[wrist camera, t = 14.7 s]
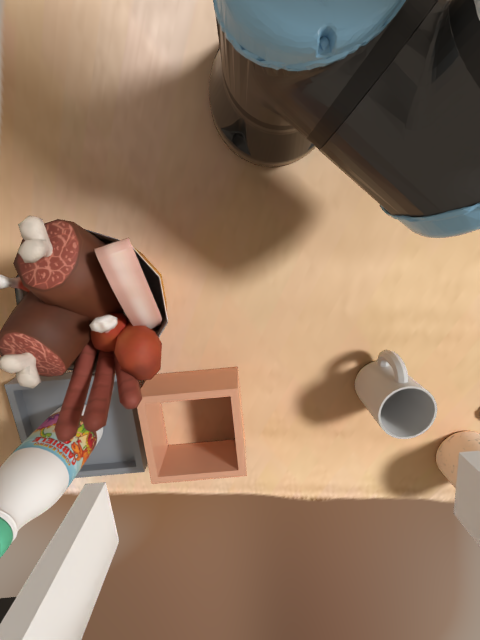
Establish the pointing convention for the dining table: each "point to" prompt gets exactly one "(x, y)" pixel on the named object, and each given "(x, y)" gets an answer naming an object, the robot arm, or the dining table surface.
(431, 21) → the robot arm
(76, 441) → the milk bottle
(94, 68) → the dining table surface
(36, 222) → the bucket of meat
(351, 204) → the dining table surface
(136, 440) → the tray
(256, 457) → the dining table surface
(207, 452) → the deep holder
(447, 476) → the teacup with lid
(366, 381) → the cup
